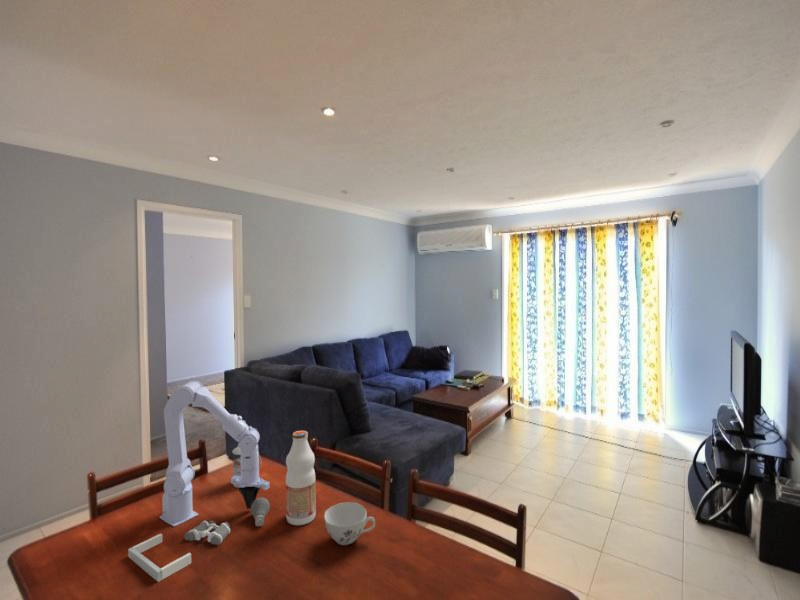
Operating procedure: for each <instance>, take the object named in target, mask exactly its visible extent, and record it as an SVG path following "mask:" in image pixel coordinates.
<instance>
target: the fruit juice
mask: <svg viewBox="0 0 800 600" xmlns="http://www.w3.org/2000/svg"><path fill="white" fill-rule="evenodd" d="M291 436H292V439H293V441H292V444H291V448H290V450H289V451H288V452H289V453H288V454H287V456H286V458H285V466H286V468H287V472H286V475H285V502H286V503H285V512H286V514H285V516H286V522H287V523H288V524H290V525H293V526H303V525H307V524H309V523H311V522H312V521H314V519H315V517H316V514H317V513H316V512H317V507H316V506H317V504H316V503H317V502H316V499H317V497H316V496H317V495H316V472H315V468H314V466H315V460H316V457H315V453H314V452H313V450H312V448H311V447H310V443H309V441H308V438H309V437H308V436H309V432H308V431H306V430H296V431H294V432H293V433H292V435H291Z"/></svg>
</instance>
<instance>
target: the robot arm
mask: <svg viewBox="0 0 800 600" xmlns="http://www.w3.org/2000/svg"><path fill="white" fill-rule="evenodd" d="M190 404H192V405H191V407H197V408H198V407H200V408H201V407H202V408H204V409H205V410H206V411H208V412H209V413H210V414H212V415H213V416H214V417H215V418H216V419H217V420H219V421H220V422H221V425H222V426H221V427H222V429H223V430H224V431H225V432H226V433H227V434H228V435H229V436H231V438H233V440H234V441H236V442H237V447H239V449H240V450H241V455H240V457H241V467H240V468H241V471H240V472H241V476H234V477H233V476H232V477H230V484H232V485H233V484H234V483H237V484H240V487H241V488H238V491H239V493H240V494H241V496H242V498H243V500H244V504H245V506H246V509H248V510H250V509H251V505H252V503H253V502H254V501H255V500H256V499H257V496H258V493H259V492H260V489H263V491H267V490H268V489H270V486H271V485H270V481H267V480H265V479H263V478H261V477H260V469H259V468H260V466H259V464H260V457H259V456H260V453H259V441H260V438H261V437H260V436H261V435H260V433H259V431H258V429H257V428H254V427H252V426H251V425H248V424H247V423H245V422H246V421H245V420H244V421H245V422H244V421H243V417H242V416H241V415H238V414H235V413H234V414H233V413H229V411H227V410H226V408H225V407H224V405H222V404H221V403H220V402H219V401H218V400H217V398H216V397H214V396H213V395H212V393H211V392H210V391H209V389H208V388H207V387H206V386H204V385H203V384H202V383H201V382H200V381H198V380H190V381H188V382H187V383H185V384H184V385H183V384H182V386H178V387H177V388H176V389H175V390H174V391H173V392H171V393H170V395H169V398H168V400H167V402H166V404H165V407H164V409H163V419H164V426H165V427H164V428H165V429H164V430H165V438H166V449H167V457H168V458H167V459H168V466H167V469H166V471H165V481H164V483H163V491H164V493H163V495H162V499H161V501H162V502H161V503H162V515H159V519H161V520H162V521H164V522H165V523H167V524H168V525H170V526H172V527H176V526H179V525H181V524H183V523H185V522H187V521H189V520H191V519H193V518H195V517H198V516H199V513H198V512H196V511H194V510H193V509H194V508H193V507H194V506H193V484H192V480H193V479H194V477H195V473H196V472H195V469H194V467H193V466H192V463H191V460H190V459H189V458H188V453H187V451H188V450H187V444H186V433H185V421H184V413H183V412H184V411H185V410H186V408H187V407H188V406H189V405H190Z"/></svg>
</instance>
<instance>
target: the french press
mask: <svg viewBox="0 0 800 600" xmlns="http://www.w3.org/2000/svg"><path fill="white" fill-rule="evenodd" d="M242 420H243V419H242ZM243 421H244V422H245V423H246V420H243ZM246 424H247V423H246ZM231 452H232V454H233V455H235V456H240V457H237V458H235V459H234V461H233V465H232V471H233V473H232V475H233V476H232V477H234V476H241V450H240V449H239V447H238V446H236V447H235V448H234V449H233V450H232V451H231ZM259 461H260V463H259V470H260V469H261V467H262V464H261V463H263V462H262V458H261V456H260V455H259ZM232 485H233V487H234V488H237V489H240V488H241V487H240V484H237V483H234V484H232Z"/></svg>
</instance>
